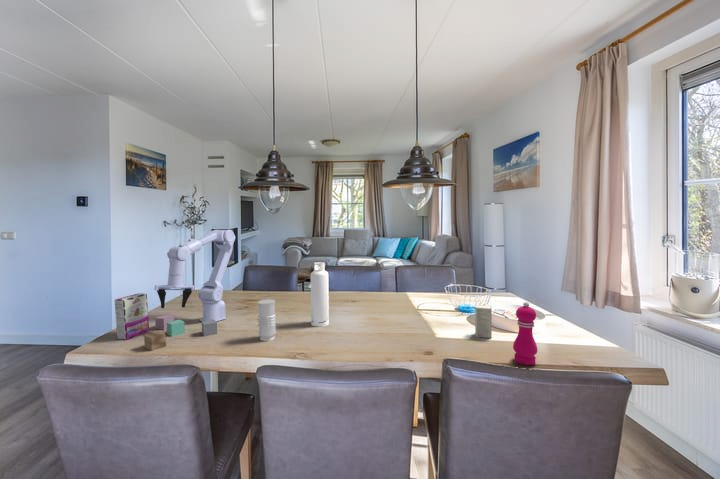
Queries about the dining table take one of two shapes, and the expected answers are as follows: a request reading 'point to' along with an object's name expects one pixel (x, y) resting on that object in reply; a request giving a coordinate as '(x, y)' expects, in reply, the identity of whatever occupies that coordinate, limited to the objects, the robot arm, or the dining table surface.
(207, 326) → the charcoal block
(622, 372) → the dining table surface
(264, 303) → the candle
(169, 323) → the teal block
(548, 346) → the dining table surface
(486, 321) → the skincare box
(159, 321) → the plum block
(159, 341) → the walnut block
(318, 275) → the bottle
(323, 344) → the dining table surface
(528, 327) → the pepper mill
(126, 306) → the candy bar box
